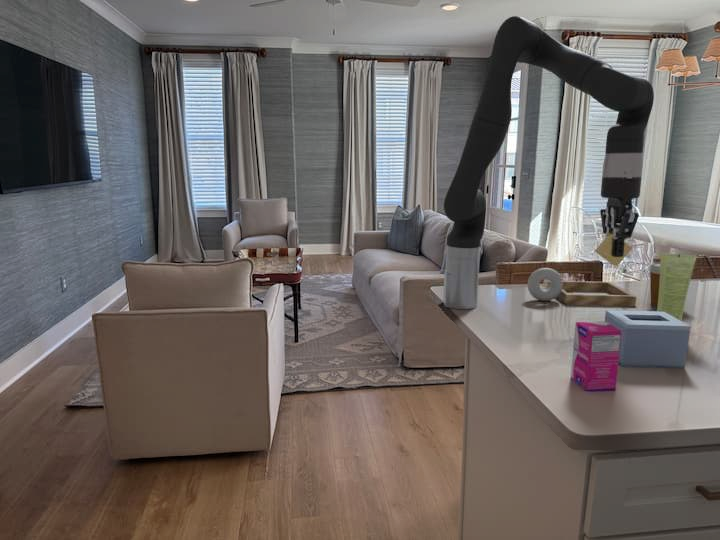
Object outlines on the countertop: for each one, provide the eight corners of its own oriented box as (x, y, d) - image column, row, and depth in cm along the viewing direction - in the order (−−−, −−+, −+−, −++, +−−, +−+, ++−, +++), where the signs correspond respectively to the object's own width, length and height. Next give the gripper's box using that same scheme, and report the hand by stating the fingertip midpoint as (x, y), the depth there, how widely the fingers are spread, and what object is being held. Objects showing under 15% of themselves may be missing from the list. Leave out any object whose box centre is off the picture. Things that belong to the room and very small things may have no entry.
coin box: (621, 367, 101) (626, 324, 99) (601, 350, 111) (605, 310, 109) (684, 370, 101) (690, 326, 99) (658, 351, 110) (663, 311, 109)
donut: (559, 300, 152) (562, 267, 150) (562, 303, 149) (566, 269, 147) (525, 298, 153) (527, 266, 151) (527, 301, 150) (530, 268, 148)
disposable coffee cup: (646, 308, 144) (652, 266, 141) (642, 300, 152) (647, 261, 150) (685, 312, 140) (692, 269, 138) (679, 304, 149) (684, 263, 146)
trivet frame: (565, 304, 147) (566, 294, 146) (546, 289, 165) (547, 280, 164) (635, 306, 146) (636, 296, 145) (608, 291, 164) (609, 281, 163)
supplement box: (568, 379, 96) (574, 320, 93) (599, 378, 96) (605, 320, 94) (584, 393, 90) (591, 330, 88) (616, 392, 90) (624, 330, 88)
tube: (664, 330, 125) (675, 251, 121) (685, 336, 121) (697, 254, 117) (649, 333, 123) (660, 252, 119) (670, 339, 118) (681, 256, 114)
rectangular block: (599, 252, 111) (614, 234, 110) (594, 251, 114) (609, 233, 113) (616, 266, 112) (632, 248, 111) (611, 264, 114) (627, 246, 113)
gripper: (590, 175, 116) (585, 250, 119) (618, 175, 102) (610, 261, 106) (624, 175, 116) (618, 250, 119) (656, 175, 102) (648, 261, 105)
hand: (614, 255), depth 112 cm, fingers closed on rectangular block, 2 cm apart
